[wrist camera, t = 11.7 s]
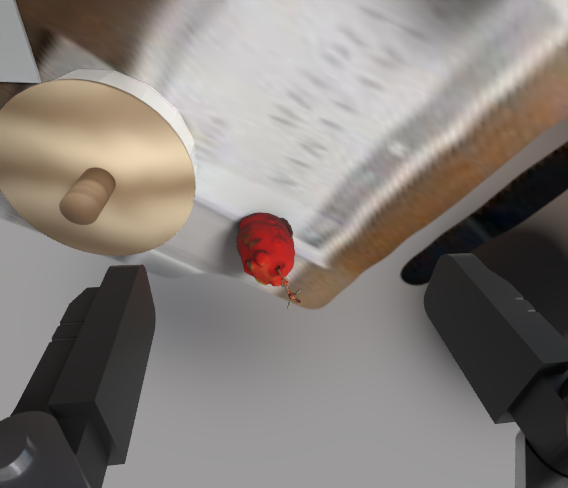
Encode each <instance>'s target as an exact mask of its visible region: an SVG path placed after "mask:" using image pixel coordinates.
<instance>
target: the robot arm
mask: <svg viewBox="0 0 568 488" xmlns="http://www.w3.org/2000/svg"><path fill="white" fill-rule="evenodd" d="M424 307H425V311H426V313H427V315H428V317H429V319H430V320H431V322H432V324H433V325H434V327H435V328H436V330H437V332H438V333H439V335H440V336H441V338H442V340H443V341H444V343H445V344H446V346H447V348H448V349H449V351H450V352H451V354H452V355H453V357H454V359H455V361H456V362H457V364H458V365H459V367H460V369H461V370H462V372H463V373H464V375H465V377H466V378H467V380H468V381H469V383H470V384H471V386H472V388H473V389H474V391H475V393H476V394H477V396H478V397H479V399H480V401H481V402H482V404H483V405H484V407H485V409H486V410H487V412H488V413H489V415H490V417H491V418H492V420H493V421H494V423H495V424H499V423H508V422H516V423H517V425H518V426H519V427H520V430H519V432H518V433H517V435H516V440H515V488H568V342H567V341H566V340H565V339H564V338H563V337H562V336H561V335H560V334H559V333H558V332H557V331H556V330H555V329H554V328H553V327H552V326H551V325H550V324H549V323H548V322H547V321H546V320H545V319H544V318H543V317H542V316H541V315H540V314H539V313H538V312H535V309H534V307H532V306H531V304H530V303H529V302H528V301H527V300H523V296H522V295H521V294H520V293H519V292H518V291H517V290H516V289H515V288H514V287H513V286H512V285H511V284H510V283H509V282H507V281H506V280H504V279H503V278H501V277H499V276H498V275H496V274H495V273H493V272H492V271H490V270H488V269H487V267H486V266H485V265H484V264H483V263H482V262H481V261H480V260H479V259H478V258H477V257H476V256H475V255H473V254H469V253H468V254H445V255H442V256H441V257H440V258H439V260H438V262H437V264H436V267H435V269H434V272H433V274H432V277H431V279H430V282H429V284H428V287H427V289H426V292H425V295H424ZM154 331H155V307H154V303H153V298H152V294H151V290H150V285H149V281H148V277H147V272H146V269H145V267H144V265H120V266H110V267H109V268H108V270H107V272H106V274H105V277H104V279H103V281H102V283H101V286H100V287H94V288H86V289H85V290H84V291H83V292H82V293H81V294H80V295H79V296H78V297H76V298H75V299H74V300H73V301H72V302H71V303H70V304H69V306H68V308H67V310H66V312H65V314H64V316H63V318H62V320H61V321H60V326H58V327H57V329H56V331H55V333H54V335H53V337H52V342H50V343H49V345H48V346H47V348H46V350H45V352H44V354H43V356H42V358H41V360H40V362H39V364H38V366H37V368H36V370H35V372H34V373H33V375H32V377H31V379H30V381H29V383H28V385H27V387H26V389H25V391H24V393H23V394H22V397H21V399H20V400H19V402H18V404H17V406H16V408H15V409H14V411H13V413H12V414H11V415H10V417H7V418H5V419H3V420H1V421H0V488H102V484H103V480H104V476H105V472H106V469H107V466H109V465H118V464H125V461H126V456H127V452H128V447H129V442H130V438H131V434H132V429H133V425H134V420H135V416H136V411H137V407H138V403H139V398H140V393H141V389H142V384H143V380H144V375H145V371H146V367H147V362H148V358H149V353H150V349H151V344H152V340H153V335H154Z"/></svg>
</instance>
